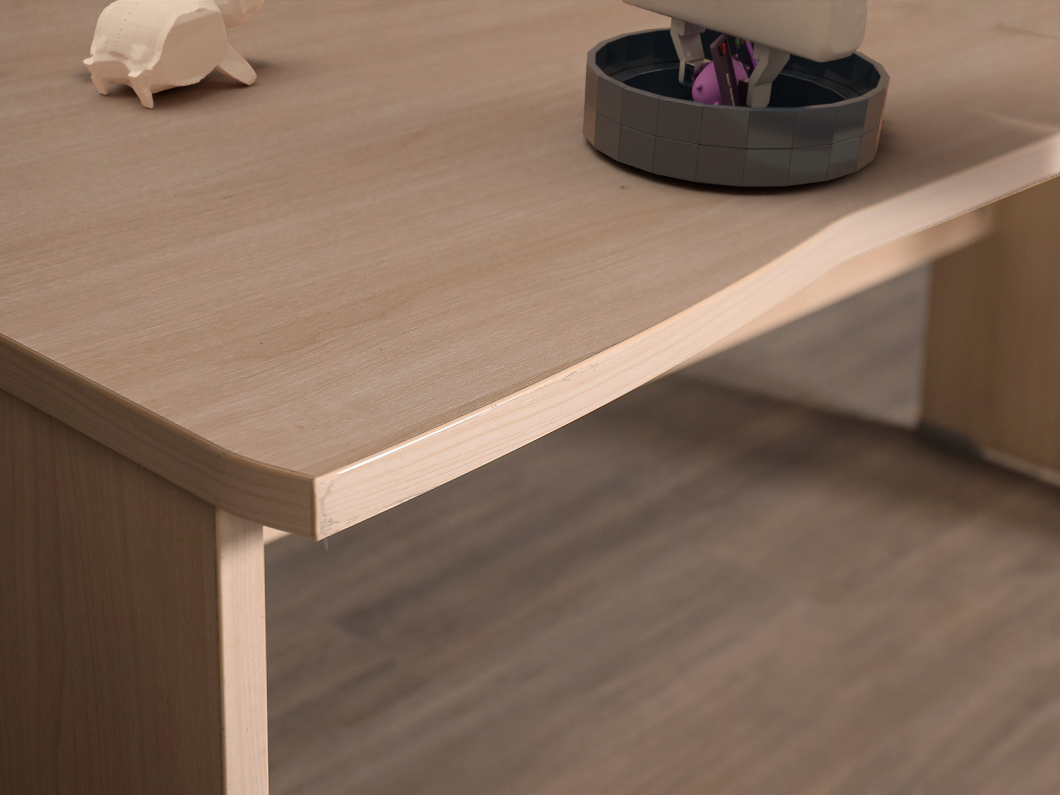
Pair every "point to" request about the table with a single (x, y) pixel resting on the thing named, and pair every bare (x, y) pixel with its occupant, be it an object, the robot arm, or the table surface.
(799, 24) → the robot arm
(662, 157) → the bowl
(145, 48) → the white animal figurine
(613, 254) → the table surface
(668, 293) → the table surface
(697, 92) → the pink bumpy toy
